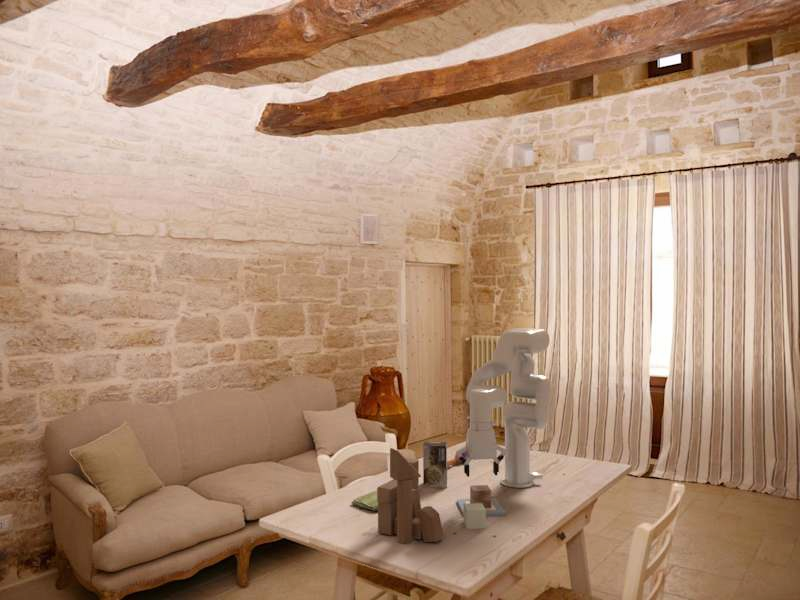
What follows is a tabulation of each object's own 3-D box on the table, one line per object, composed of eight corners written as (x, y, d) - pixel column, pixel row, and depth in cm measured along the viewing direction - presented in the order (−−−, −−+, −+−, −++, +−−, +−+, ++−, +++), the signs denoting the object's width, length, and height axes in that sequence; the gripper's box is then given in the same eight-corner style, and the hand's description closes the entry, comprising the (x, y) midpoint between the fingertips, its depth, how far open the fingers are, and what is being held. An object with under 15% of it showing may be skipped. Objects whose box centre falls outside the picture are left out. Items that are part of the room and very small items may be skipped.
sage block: (481, 521, 206) (481, 503, 206) (485, 528, 200) (485, 509, 200) (463, 522, 206) (463, 503, 205) (466, 529, 200) (466, 510, 199)
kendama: (434, 460, 266) (459, 447, 282) (437, 474, 266) (462, 460, 282) (446, 459, 262) (471, 446, 278) (449, 474, 262) (473, 460, 278)
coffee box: (447, 483, 247) (447, 441, 247) (446, 488, 240) (447, 445, 240) (423, 482, 248) (423, 441, 248) (422, 487, 241) (422, 445, 241)
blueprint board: (495, 501, 226) (495, 498, 226) (505, 515, 212) (505, 512, 212) (456, 502, 225) (456, 499, 225) (463, 516, 211) (463, 513, 211)
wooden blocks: (427, 553, 181) (427, 455, 180) (368, 540, 191) (368, 446, 190) (462, 526, 202) (462, 438, 202) (407, 515, 212) (407, 431, 211)
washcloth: (349, 506, 221) (349, 496, 221) (384, 494, 235) (384, 485, 235) (376, 515, 213) (376, 505, 213) (411, 502, 226) (411, 493, 226)
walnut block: (487, 502, 221) (487, 485, 221) (491, 508, 215) (491, 490, 215) (470, 502, 221) (470, 485, 221) (473, 508, 215) (473, 491, 215)
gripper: (503, 422, 222) (503, 470, 223) (454, 423, 221) (454, 472, 222) (508, 427, 215) (509, 477, 216) (457, 429, 213) (458, 479, 214)
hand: (481, 474), depth 219 cm, fingers open, 9 cm apart
